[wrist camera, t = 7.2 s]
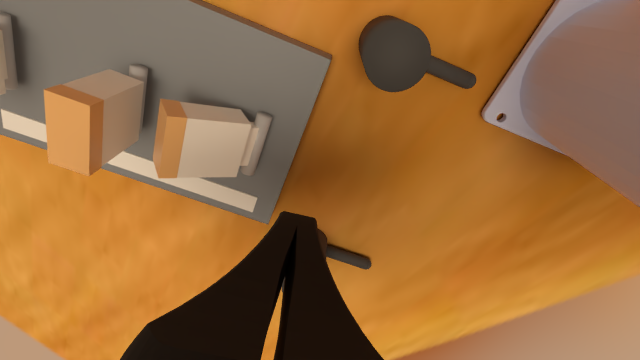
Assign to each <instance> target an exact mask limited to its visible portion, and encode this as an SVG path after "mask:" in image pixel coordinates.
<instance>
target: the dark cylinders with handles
mask: <svg viewBox="0 0 640 360" xmlns="http://www.w3.org/2000/svg"><path fill="white" fill-rule="evenodd" d="M359 51H360V55H361V58H362V62H363V65H364V68H365V72H366V74H367V76H368V78H369V80H370V81H371V82H372V83H373V84H374V85H375V86H376V87H378V88H380V89H382V90H384V91H389V92H399V91H403V90H406V89H408V88H411V87H412V86H414V85H415V84H416V83H418V82H419V81H420V80H421V78H422V77H423V76H424V74H425V73H426V72H427V73H430V74H432V75H434V76H437V77H439V78H441V79H444V80H446V81H448V82H451V83H453V84H455V85H458V86H460V87H462V88H465V89H469V88H471V87H473V86H474V85H475V83H476V77H475V75H474V74H472V73H470V72H468V71H465V70H463V69H461V68H459V67H456V66H454V65H452V64H449V63H447V62H445V61H443V60H440V59H438V58H436V57H434V56H431V49H430V44H429V41H428V39H427V37H426V35H425V34H424V33H423V32H422V31H421V30H420V29H419V28H418V27H416V26H414V25H412V24H410V23H408V22H405V21H403V20H401V19H398V18H396V17H393V16H380V17H377V18H375V19H373V20H372V21H370V22H369V23H368V24H367V25H366V26H365V28H364V29H363V31H362V33H361V35H360V39H359ZM318 234H319V239H320V243H321V246H322V250H323V253H324V256H325V259H326V257H329V258H332V259H335V260H338V261H341V262H344V263H347V264H350V265H354V266H357V267H360V268H363V269H369V268H370V267H371V261H370V260H369V259H367V258H364V257H362V256H359V255H356V254H353V253H350V252H347V251H344V250H341V249H338V248H335V247H332V246H329V245H327V238H326V236H325V234H324V233H323V232H322V231H320V230H319V229H318ZM284 281H285V278H284ZM284 281H283V284H282V292H283V290H284Z"/></svg>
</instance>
